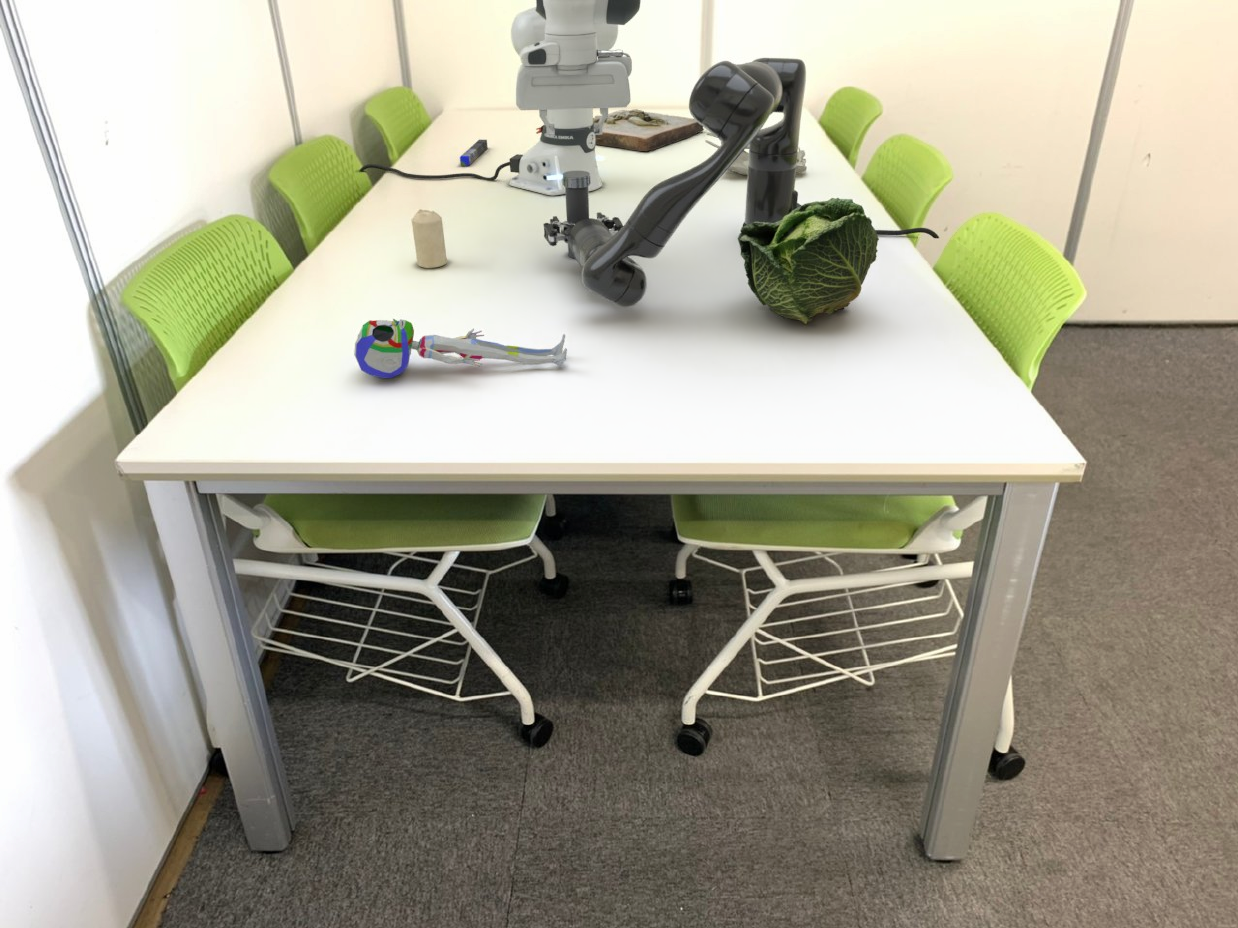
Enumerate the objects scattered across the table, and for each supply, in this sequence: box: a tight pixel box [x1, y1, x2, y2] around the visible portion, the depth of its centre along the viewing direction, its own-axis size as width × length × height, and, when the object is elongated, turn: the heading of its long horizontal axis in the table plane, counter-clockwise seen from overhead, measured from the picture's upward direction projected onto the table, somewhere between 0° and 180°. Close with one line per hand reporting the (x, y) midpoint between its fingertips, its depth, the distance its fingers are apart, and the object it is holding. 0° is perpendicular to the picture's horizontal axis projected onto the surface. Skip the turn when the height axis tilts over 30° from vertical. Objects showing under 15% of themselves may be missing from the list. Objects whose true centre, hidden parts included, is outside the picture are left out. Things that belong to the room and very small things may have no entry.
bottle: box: [565, 187, 590, 260], centre depth 169 cm, size 4×4×15 cm
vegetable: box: [737, 197, 879, 325], centre depth 143 cm, size 20×19×20 cm
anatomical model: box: [705, 131, 808, 176], centre depth 220 cm, size 15×9×25 cm
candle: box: [411, 209, 448, 269], centre depth 167 cm, size 6×6×10 cm
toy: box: [353, 318, 568, 379], centre depth 130 cm, size 10×8×30 cm
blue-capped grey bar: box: [459, 139, 488, 167], centre depth 240 cm, size 2×2×20 cm
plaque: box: [593, 108, 705, 152], centre depth 257 cm, size 30×7×30 cm
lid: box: [562, 171, 591, 188], centre depth 166 cm, size 5×5×2 cm
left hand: (574, 134), depth 161 cm, fingers open, 7 cm apart
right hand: (576, 219), depth 171 cm, fingers open, 8 cm apart
